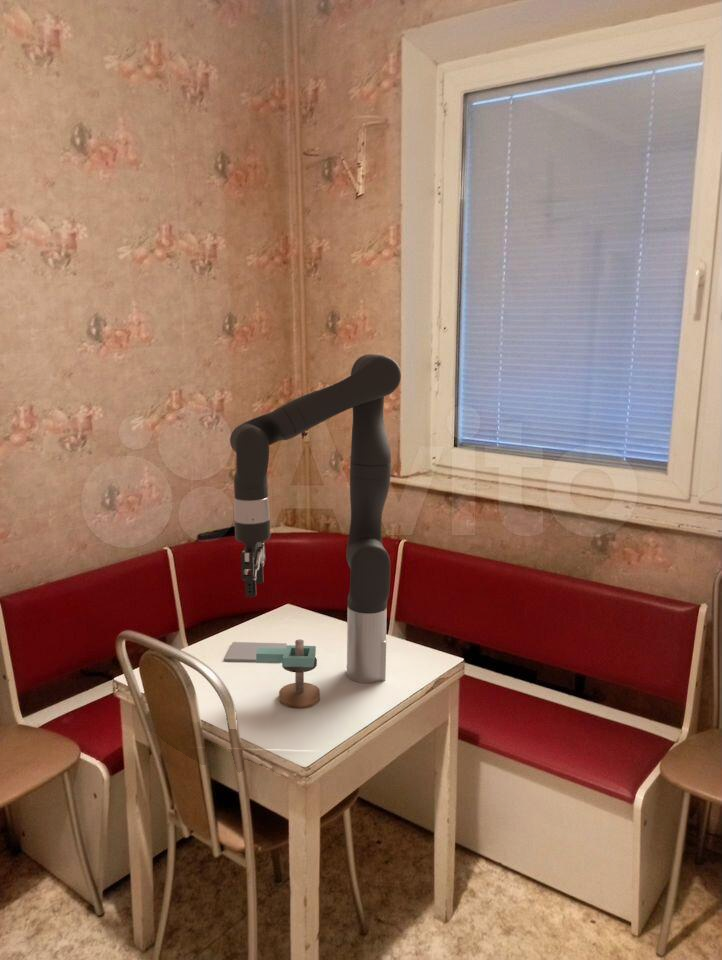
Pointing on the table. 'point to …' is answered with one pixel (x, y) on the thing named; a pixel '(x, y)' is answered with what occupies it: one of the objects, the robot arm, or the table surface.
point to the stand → (299, 685)
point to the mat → (248, 650)
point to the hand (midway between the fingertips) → (254, 589)
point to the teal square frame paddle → (287, 656)
